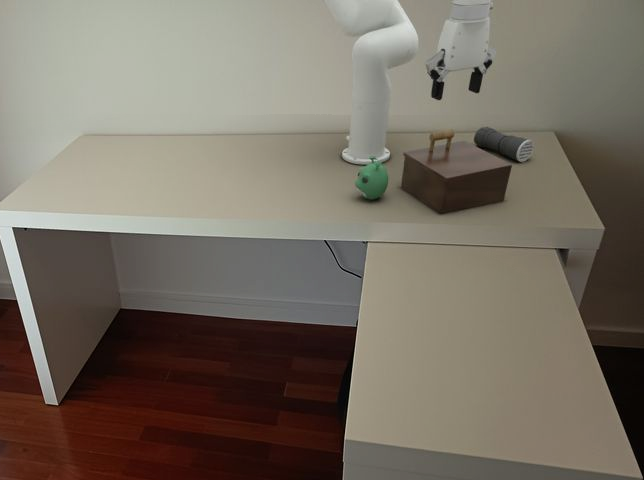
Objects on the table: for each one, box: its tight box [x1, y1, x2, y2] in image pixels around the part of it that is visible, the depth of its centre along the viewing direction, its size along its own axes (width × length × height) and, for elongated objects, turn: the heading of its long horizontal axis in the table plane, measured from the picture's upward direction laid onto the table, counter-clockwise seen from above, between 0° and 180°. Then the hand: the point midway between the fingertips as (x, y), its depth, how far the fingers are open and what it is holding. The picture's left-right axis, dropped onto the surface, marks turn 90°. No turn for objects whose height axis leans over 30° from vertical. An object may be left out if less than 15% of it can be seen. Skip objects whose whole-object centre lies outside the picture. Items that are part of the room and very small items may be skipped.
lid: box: [403, 129, 513, 181], centre depth 149 cm, size 17×17×5 cm
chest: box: [400, 156, 512, 215], centre depth 152 cm, size 17×17×8 cm
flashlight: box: [473, 126, 535, 163], centre depth 170 cm, size 15×5×5 cm, turn 25°
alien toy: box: [354, 156, 390, 200], centre depth 153 cm, size 7×8×10 cm
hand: (455, 95), depth 147 cm, fingers open, 9 cm apart
